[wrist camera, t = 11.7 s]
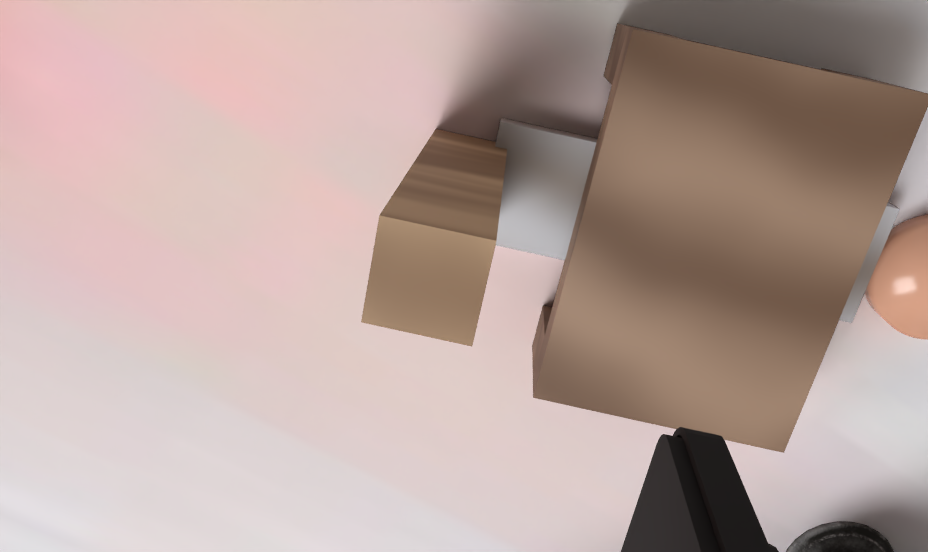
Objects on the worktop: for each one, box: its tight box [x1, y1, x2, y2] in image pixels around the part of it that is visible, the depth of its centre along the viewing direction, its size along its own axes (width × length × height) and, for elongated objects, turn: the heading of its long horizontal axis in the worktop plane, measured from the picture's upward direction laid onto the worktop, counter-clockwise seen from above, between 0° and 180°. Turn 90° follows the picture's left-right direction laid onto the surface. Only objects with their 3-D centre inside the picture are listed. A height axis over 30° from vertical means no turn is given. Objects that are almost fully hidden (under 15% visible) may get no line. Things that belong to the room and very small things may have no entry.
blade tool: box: [361, 118, 900, 346], centre depth 26 cm, size 5×18×13 cm, turn 78°
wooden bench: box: [532, 23, 928, 453], centre depth 30 cm, size 14×10×5 cm
